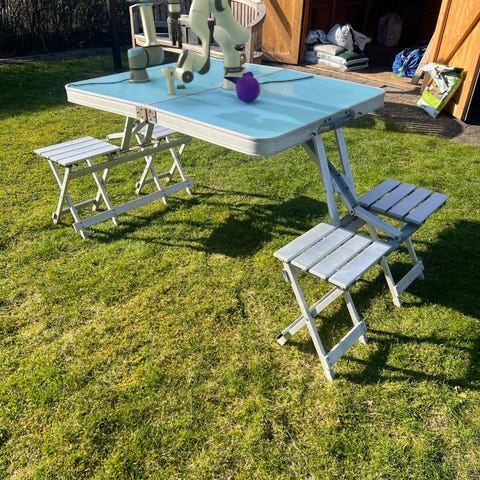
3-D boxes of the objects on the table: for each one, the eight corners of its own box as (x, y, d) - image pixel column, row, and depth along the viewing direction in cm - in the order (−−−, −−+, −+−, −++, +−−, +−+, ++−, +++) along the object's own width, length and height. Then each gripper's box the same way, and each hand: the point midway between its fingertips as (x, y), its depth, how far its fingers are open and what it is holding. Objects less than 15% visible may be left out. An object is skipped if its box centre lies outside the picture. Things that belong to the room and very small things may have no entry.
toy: (245, 93, 294) (260, 108, 274) (220, 89, 287) (233, 103, 266) (251, 69, 286) (267, 82, 266) (226, 64, 279) (240, 76, 258)
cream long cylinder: (176, 93, 300) (174, 68, 291) (170, 95, 297) (168, 69, 289) (172, 92, 302) (170, 67, 294) (167, 94, 300) (164, 68, 292)
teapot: (227, 72, 362) (226, 52, 355) (220, 70, 371) (219, 51, 363) (249, 69, 371) (249, 50, 364) (242, 67, 380) (242, 48, 372)
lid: (175, 88, 315) (175, 84, 314) (181, 87, 318) (181, 83, 317) (180, 89, 312) (180, 85, 311) (186, 88, 315) (186, 84, 314)
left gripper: (163, 10, 300) (167, 45, 310) (174, 12, 280) (177, 49, 291) (174, 10, 302) (177, 44, 313) (186, 12, 282) (188, 48, 293)
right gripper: (196, 65, 271) (189, 61, 282) (163, 68, 265) (158, 64, 276) (197, 76, 274) (190, 72, 286) (164, 79, 268) (159, 75, 279)
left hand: (177, 47), depth 302 cm, fingers open, 13 cm apart
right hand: (174, 68), depth 281 cm, fingers open, 8 cm apart
